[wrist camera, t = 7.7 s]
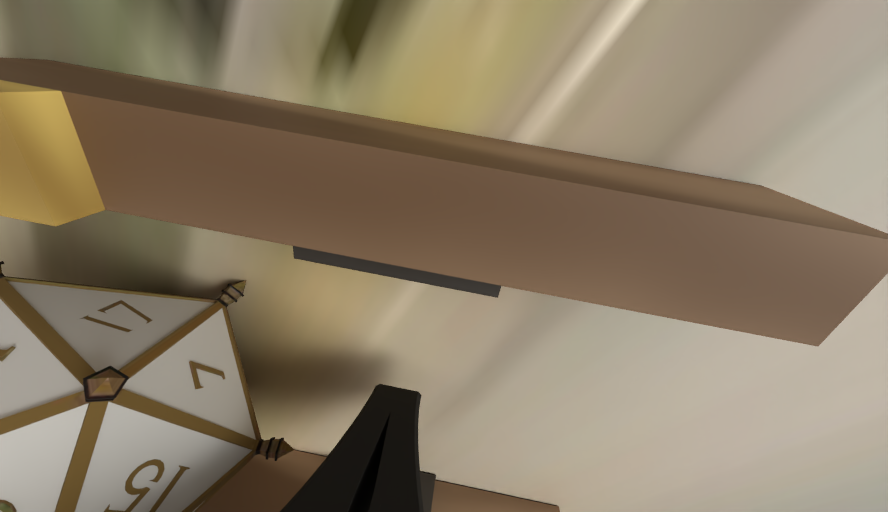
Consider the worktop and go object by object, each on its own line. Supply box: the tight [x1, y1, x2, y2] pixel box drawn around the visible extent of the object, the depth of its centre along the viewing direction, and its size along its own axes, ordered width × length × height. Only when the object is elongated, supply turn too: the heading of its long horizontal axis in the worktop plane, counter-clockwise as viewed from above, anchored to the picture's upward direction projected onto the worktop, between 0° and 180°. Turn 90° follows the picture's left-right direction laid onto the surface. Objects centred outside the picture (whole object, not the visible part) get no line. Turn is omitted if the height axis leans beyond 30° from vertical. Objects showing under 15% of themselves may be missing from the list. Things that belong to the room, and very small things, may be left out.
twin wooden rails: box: [0, 58, 888, 512], centre depth 10 cm, size 16×17×4 cm
